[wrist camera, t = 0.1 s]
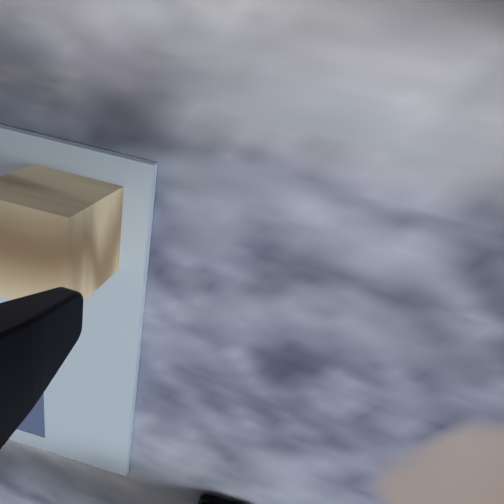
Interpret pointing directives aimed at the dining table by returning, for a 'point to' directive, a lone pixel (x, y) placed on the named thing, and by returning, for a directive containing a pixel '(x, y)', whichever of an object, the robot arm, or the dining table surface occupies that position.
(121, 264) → the build board
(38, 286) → the maple block
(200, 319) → the dining table surface
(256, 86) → the dining table surface
